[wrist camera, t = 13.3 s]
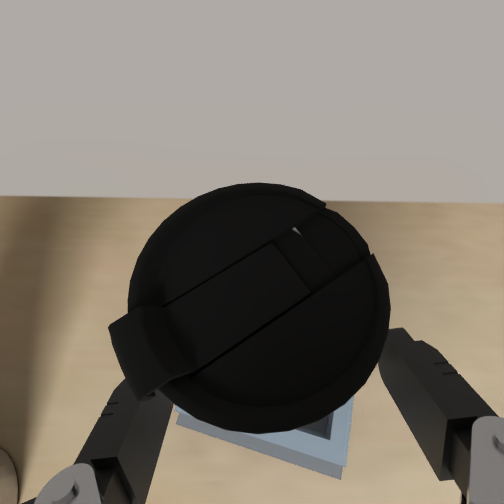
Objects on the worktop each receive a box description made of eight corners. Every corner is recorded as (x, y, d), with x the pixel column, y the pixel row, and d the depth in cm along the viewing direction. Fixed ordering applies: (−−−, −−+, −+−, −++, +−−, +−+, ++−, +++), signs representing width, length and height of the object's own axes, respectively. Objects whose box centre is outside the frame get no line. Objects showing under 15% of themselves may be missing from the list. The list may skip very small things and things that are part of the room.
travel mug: (223, 342, 25) (66, 251, 7) (284, 301, 26) (288, 123, 8) (263, 411, 23) (181, 544, 5) (328, 362, 24) (481, 310, 5)
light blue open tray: (179, 422, 24) (164, 429, 21) (230, 260, 29) (223, 245, 26) (338, 475, 21) (348, 492, 18) (360, 287, 27) (371, 275, 24)
